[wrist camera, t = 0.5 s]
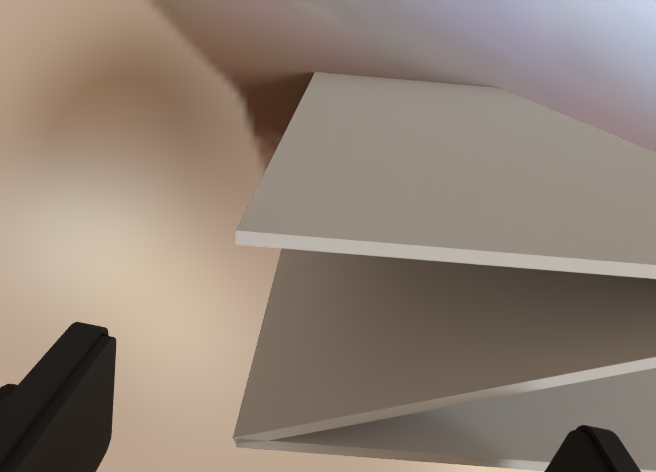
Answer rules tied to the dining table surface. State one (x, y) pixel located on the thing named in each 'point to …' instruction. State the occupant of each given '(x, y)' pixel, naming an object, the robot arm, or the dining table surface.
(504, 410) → the upright grey panel
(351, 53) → the dining table surface
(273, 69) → the dining table surface
